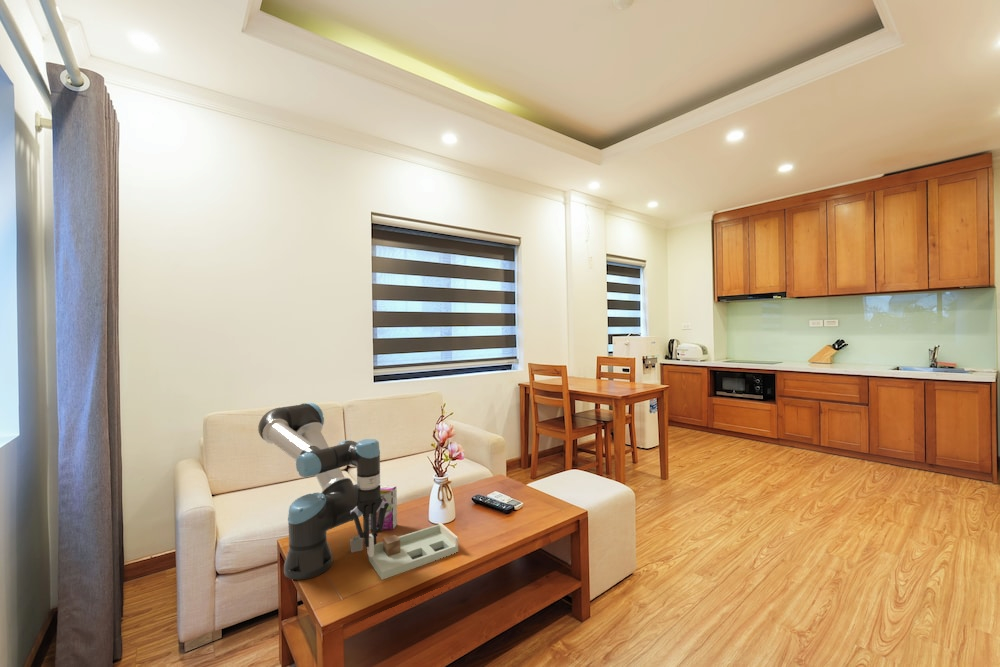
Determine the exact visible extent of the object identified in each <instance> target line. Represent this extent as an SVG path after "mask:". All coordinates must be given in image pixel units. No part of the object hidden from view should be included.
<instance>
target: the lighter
mask: <svg viewBox="0 0 1000 667" xmlns="http://www.w3.org/2000/svg"><path fill="white" fill-rule="evenodd" d="M369 533H371V527H370V526H369ZM349 540H350V553H351V554H352V553H356V552H360V551H363V550H364V538H360V536H359V535H358V534H357V535H354V536H352V538H350V539H349Z"/></svg>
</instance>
